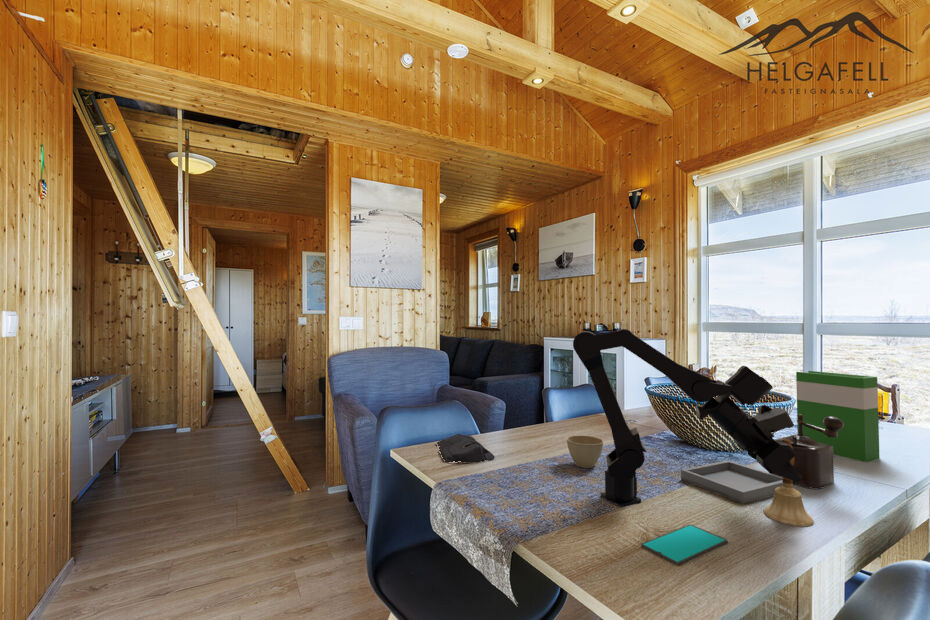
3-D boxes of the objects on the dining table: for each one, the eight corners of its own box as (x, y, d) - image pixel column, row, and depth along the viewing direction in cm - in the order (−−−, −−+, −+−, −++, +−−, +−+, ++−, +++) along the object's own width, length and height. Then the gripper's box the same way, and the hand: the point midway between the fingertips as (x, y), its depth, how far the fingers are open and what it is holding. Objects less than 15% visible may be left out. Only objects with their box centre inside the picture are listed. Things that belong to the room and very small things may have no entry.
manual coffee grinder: (766, 477, 112) (765, 407, 112) (788, 470, 117) (786, 403, 118) (841, 498, 98) (839, 419, 99) (861, 489, 104) (859, 414, 104)
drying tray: (743, 503, 96) (743, 492, 96) (681, 479, 110) (680, 469, 110) (792, 490, 103) (792, 480, 103) (728, 469, 118) (727, 460, 118)
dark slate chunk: (477, 442, 147) (477, 428, 147) (497, 462, 125) (497, 446, 125) (432, 445, 143) (432, 430, 143) (445, 467, 122) (445, 450, 122)
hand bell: (817, 530, 83) (815, 447, 84) (765, 520, 88) (763, 441, 88) (810, 514, 90) (809, 437, 91) (762, 505, 95) (761, 432, 95)
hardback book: (797, 445, 140) (796, 371, 141) (811, 443, 143) (809, 370, 144) (865, 462, 124) (863, 378, 124) (879, 458, 127) (877, 376, 127)
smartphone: (728, 540, 79) (678, 563, 71) (728, 544, 79) (678, 568, 71) (690, 523, 85) (640, 543, 78) (690, 528, 85) (640, 548, 78)
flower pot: (605, 472, 116) (605, 445, 116) (567, 469, 118) (567, 443, 118) (601, 460, 125) (601, 435, 126) (566, 458, 127) (566, 434, 128)
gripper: (782, 403, 82) (854, 467, 79) (748, 388, 100) (805, 440, 96) (736, 441, 84) (804, 505, 81) (710, 420, 102) (765, 472, 98)
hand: (795, 477), depth 89 cm, fingers open, 4 cm apart
